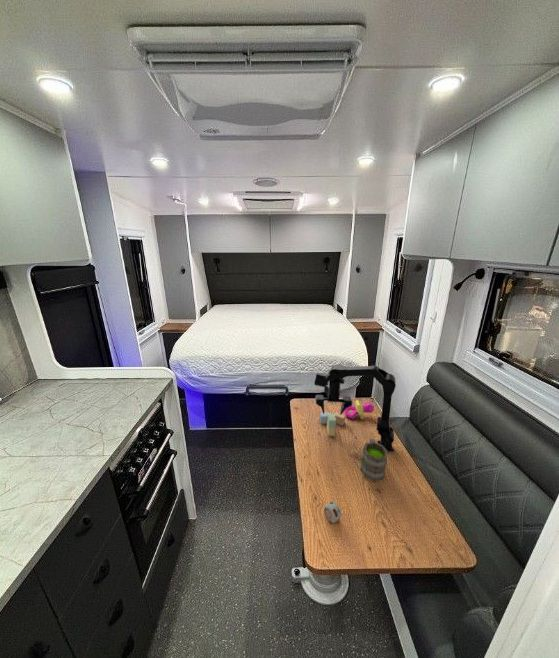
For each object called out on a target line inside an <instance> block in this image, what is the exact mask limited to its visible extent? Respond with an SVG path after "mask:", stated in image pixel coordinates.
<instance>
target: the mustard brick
mask: <svg viewBox="0 0 559 658" xmlns="http://www.w3.org/2000/svg"><path fill="white" fill-rule="evenodd" d="M326 432H327V436H329V437H335V436H336V435H335V434H336V427H335V428H329V427H328V421H327V423H326Z"/></svg>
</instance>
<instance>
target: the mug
mask: <svg viewBox="0 0 559 658" xmlns="http://www.w3.org/2000/svg"><path fill="white" fill-rule="evenodd" d="M362 450H363V451H362V457H361V465H360V468H359V470H360V472H361V474H362V475H363V476H364V478H366V479H368V480H369V481H372V482H381V481H383V480H384V478H385V475H386V467H387V463H388V455H389V452H390V451H387V450H386V449H385V447H384V446H383V445H380V444H378V442H376V440H375V438H373V437H371V438H369V442H365V444H364V446H363V448H362Z"/></svg>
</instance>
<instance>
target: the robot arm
mask: <svg viewBox="0 0 559 658" xmlns="http://www.w3.org/2000/svg"><path fill="white" fill-rule="evenodd" d="M315 375H316V376H315V378H314V386H317V387H321V388H323V392H324V393H326V394H327V397H324V395H323V394H316V395H315V398H314V401H315V404H316V405H317V406H318V407H320V409H321V411H322V413H323V414H324V413H325V404H324V403H341V405H340V406H341V407H340V411H339V413H340V415H341V414H344V413H345V412H344V410H345V409H346V408H347V407H349V406H353V401H352V398H351V396H350V395H343V396H342V398H340V395H341V393H340V392H341V384H343V385H344V384H345V381H346V380H345V378H347V377H365V376H366V377H367V376H369V377H373V378H374V379H375V380H376V381H377V382H378V383H379V384H380V385H381V386H382V392H383V396H382V406H381V407H382V408H381V415H380V416H377V420H376V421H377V422H376V431H377V433H378V435H379V436H380V440H377V443H378V444H380V445H383V446H384V447H385V449H386V450H387V451H388V452H394V451H395V449H394V447H393V443H394V441H395V433H394V432H395V431H394V428H393V427H392V426H391V423H390V422H391V421H390V415H391V406H392V405H391V404H392V397H393V394H394V392H395V390H396V386H397V385H396V377H395V376H394V375H393V374H391V373H388V372H387V371H386V370H384V369H381V368H380V367H378V366H377V365H376V364H375V365H366V366H364V365H363V366H362V365H361V366H346V365H342V364H334V365H332V367H331V368H330V370H329V371H328V372H327V374H324V373H320V372H317V373H316V374H315Z"/></svg>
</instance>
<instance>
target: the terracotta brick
mask: <svg viewBox="0 0 559 658" xmlns="http://www.w3.org/2000/svg"><path fill="white" fill-rule="evenodd" d="M333 414H335V418H336V425H340V426H344V424H345V422H346V415H345V414H344V413H342V414H341V415H340V412H337V411H335V413H333Z"/></svg>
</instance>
